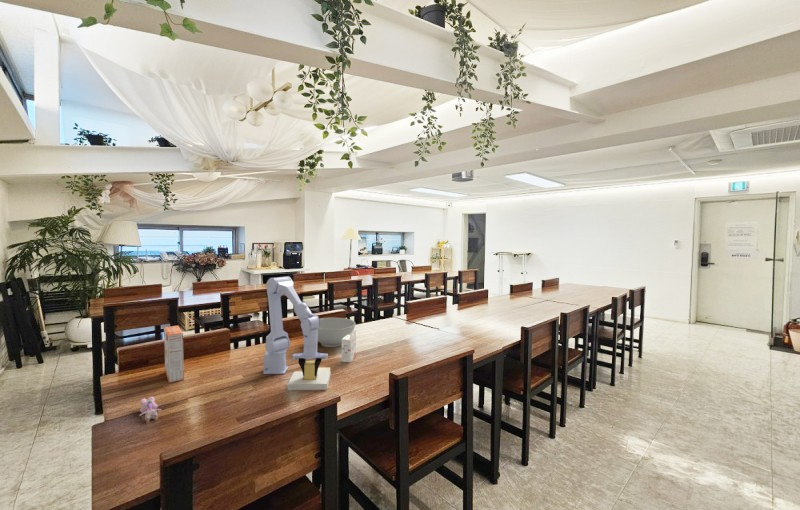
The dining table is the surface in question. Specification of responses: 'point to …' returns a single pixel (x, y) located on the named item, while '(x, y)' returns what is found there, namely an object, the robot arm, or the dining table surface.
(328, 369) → the mat
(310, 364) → the block
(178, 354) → the cracker box
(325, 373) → the holder
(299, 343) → the dining table surface
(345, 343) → the ink cartridge box
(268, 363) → the robot arm
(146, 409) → the pink toy figurine
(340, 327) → the decorative bowl
